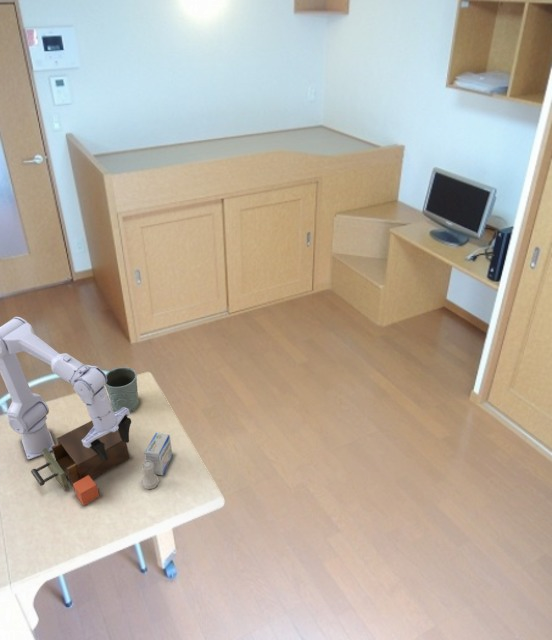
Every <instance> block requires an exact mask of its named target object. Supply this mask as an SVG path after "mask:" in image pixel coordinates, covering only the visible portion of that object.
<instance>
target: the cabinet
mask: <svg viewBox="0 0 552 640" xmlns="http://www.w3.org/2000/svg"><path fill="white" fill-rule="evenodd" d="M93 426H94V425H93V422H92V420H89V421H88V422H86V423H83V424H82V425H80V426H78V427H76V428H73V429H72V430H70V431H68V432H66V433H65V434H62V435H60V436H58V437H56V440H57V444H58V443H60V444H61V445H62V447H63V448H64V449H65V450H66V452H67V453H68V454H69V456H70V457H71V458H72V459H73V461H74V462H75V463H76V465H77V467H78V471H79V474H80V477H81V479H82V478H84V477H86V476H88V475H89V476H90V477H91V479H92V480H94V479H96V478H97V477H99V476H101V475H102V474H105V473H106V472H108V471H110V470H111V469H113V468H115V467H116V466H119V465H120V464H122V463H123V462H125V461H127V460H129V459H130V453H129V448H128V443H126V442H124V441H122V439H121V437H120V434H119V431H118V429H117V430H116V431H115V432H109V433H107V434H106V435H104V436H102V437H100V438H98V440H100V442H102V443H104V444H105V445H104V446H105V452H106V455H107V457H108V460H107V461H104V460H102V459H101V458H100V457H99V455H98V454H97V453H96V452H95V451H94V450H93V449H92V448H90V447H89V448H87V447H85V446H83V443H82V441H81V440H83V439H84V438H85V437H86V436H87V434H88V433H89V432H90V430H91V429H92V428H93ZM81 479H80V480H81Z"/></svg>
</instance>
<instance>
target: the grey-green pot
mask: <svg viewBox="0 0 552 640" xmlns="http://www.w3.org/2000/svg"><path fill="white" fill-rule="evenodd" d="M105 375H106V377H107V383H106V384H105V385H104V387H105V389H106V392H107V395H108V398H109V401H110V403H111V406H112V409H113V412H116V411H118V410H120V409H122V408H123V407H125V408H127V409H129V412H130V413H131V412H134V411H135V410H136V409H137V408H138V406H139V404H140V403H139V401H140V400H139V392H138V378H137V377H138V376H137V372H136V370H134V369H133V368H132V367H128V366H121V367H115V368H112V369H110V370H109V371H108V372H107V373H105Z"/></svg>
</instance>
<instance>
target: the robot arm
mask: <svg viewBox="0 0 552 640" xmlns="http://www.w3.org/2000/svg"><path fill="white" fill-rule="evenodd" d="M23 352H25V353H27V354H29V355H30V356H32V357H34V358H36V359H37V360H40V361H42V362H44V363H45V364H47V365H49V366H50V368H51V372H52V373H53V374H55V375H56V376H57V377H59V378H60V379H62V380H64V381H65V382H67V383H69V384H70V385H71V386H73V387H72V389H73V390H74V392H75V393H76V395H77V396H78V397H79V398H80V400H81V402H82V403H83V404H85V407H86V409H87V412H88V414H89V417H90V421H92V422H93V425H94V426H93V428H92V429H91V430H90V432H89V433H88V434H87V436H86V437H85V438H84V439H83V440H81V441H82V443H83V446H85V447H87V448H89V447H90V448H92V449H93V450H94V451H95V452H96V453H97V454H98V455H99V457H100V458H101V459H102V460H104V461H107V460H108V457H107V455H106V452H105V446H104V445H105V444H104V443H102V442H100V440H98V438H100V437H102V436H104V435H106V434H107V433H109V432H115V431H116V430H118V431H119V434H120V437H121V439H122V441H124V442H126V443H127V444H128V443H130V429H131V424H132V419H131V418H130V415H131V412H129V409H127V408H125V407H123V408H122V409H120V410H118V411H116V412H115V411H114V410H113V409H112V406H111V401H110V398H109V394H108V392H107V389H106V386H105V384H106V383H107V377H106V372H104V371H103V370H102V369H101V368H100V367H99V366H96V365H90V364H84V363H83V362H81V361H79V360H78V359H77V358H75V357H73V356H72V355H70V354H69V353H66V352H65V353H59V352H58V351H57V350H55V348H53V347H51V346H50V345H49V344H48V343H47V342H45V341H44V340H43V339H41V338H40V337H39V336H38V335H36V334H35V331H34V328H33V327H32V324H30V323H29V322H28V321H27V319H25V318H22V317H20V316H14V317H13V318H11V319H10V320H8V321H7V322H6V323H4V324H2V325H1V326H0V376H1V378H2V380H3V382H4V386H5V387H6V390H7V391H8V394H9V396H10V398H11V402H10V405H9V407H8V409H7V411H6V414H7V416H8V424H9V427H10V428H11V429H12V430H13V431H14V432H15V433H17V434H20V437H21V443H22V446H23V449H24V452H25V454H26V455H25V457H26V459H27V460H32V459H35V458H37V457H40V456H44V454H43V451H42V450H43V449H45V448H47V450H48V451H49V452H50V453H51V452H53V451H52V446H54V445H56V444H55V442H54V439H53V437H52V434H51V432H50V429H49V428H48V424H47V419H48V417H47V415H48V414H49V413H50V408H49V406H48V404H47V403H46V401H45V400H44V399H43V397H42V395H40V394H38V393H35V392H32V390H31V387H30V385H29V382H28V380H27V378H26V375H25V372H24V371H23V368H22V366H21V363H20V361H19V360H20V359H19V358H18V355H17V354H19V353H23Z"/></svg>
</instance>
